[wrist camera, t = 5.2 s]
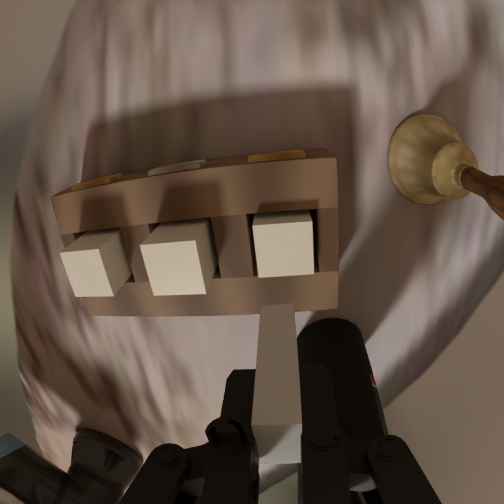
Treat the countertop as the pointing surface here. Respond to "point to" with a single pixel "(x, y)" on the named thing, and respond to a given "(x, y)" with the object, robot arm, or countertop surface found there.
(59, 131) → the countertop surface
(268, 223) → the outer button
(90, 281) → the inner button
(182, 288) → the middle button
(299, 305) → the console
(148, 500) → the robot arm
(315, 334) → the wine bottle
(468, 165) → the hand bell
